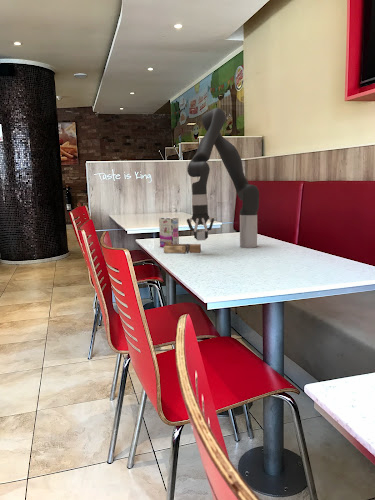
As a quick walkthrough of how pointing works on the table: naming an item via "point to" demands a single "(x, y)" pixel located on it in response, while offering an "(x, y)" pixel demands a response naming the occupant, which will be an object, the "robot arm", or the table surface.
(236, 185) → the robot arm
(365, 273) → the table surface
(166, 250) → the block
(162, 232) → the candy bar box
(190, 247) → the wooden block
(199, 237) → the collar
